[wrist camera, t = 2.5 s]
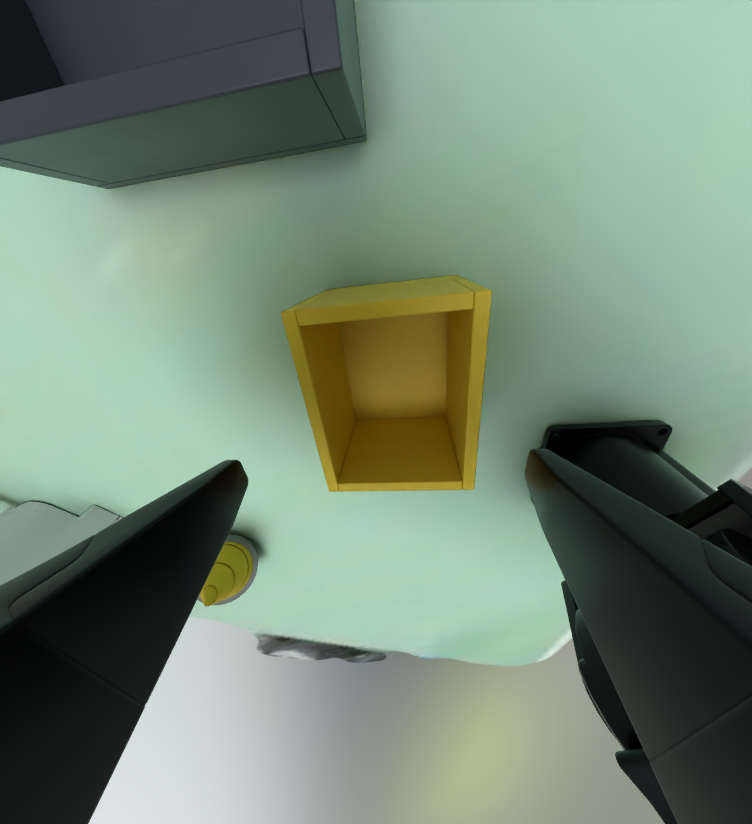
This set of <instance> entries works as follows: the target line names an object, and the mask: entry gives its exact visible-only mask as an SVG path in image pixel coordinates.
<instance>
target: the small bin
mask: <svg viewBox="0 0 752 824" xmlns="http://www.w3.org/2000/svg"><path fill="white" fill-rule="evenodd" d="M491 296H492V291H491V290H490V289H488V288H485V287H483V286H481V285H479V284H476V283H474V282H472V281H470V280H467V279H465V278H463V277H460V276H458V275H451V276H442V277H434V278H425V279H416V280H407V281H399V282H390V283H381V284H372V285H364V286H355V287H346V288H337V289H328V290H325V291H323V292H321V293H319V294H317V295H315V296H313V297H311V298H309V299H307V300H305V301H303V302H301V303H299V304H297V305H295V306H293V307H291V308H289V309H287V310H285V311H283V312H281V316H282V319H283V323H284V327H285V330H286V334H287V338H288V341H289V345H290V349H291V352H292V356H293V360H294V364H295V367H296V371H297V375H298V378H299V382H300V386H301V389H302V393H303V397H304V400H305V404H306V408H307V412H308V415H309V419H310V423H311V426H312V430H313V434H314V437H315V441H316V445H317V448H318V452H319V456H320V460H321V463H322V467H323V471H324V474H325V478H326V482H327V485H328V489H329V491H330V492H332V491H406V490H462V489H463V490H473V489H474V483H475V472H476V461H477V450H478V439H479V428H480V417H481V406H482V395H483V384H484V373H485V362H486V351H487V340H488V329H489V318H490V307H491Z"/></svg>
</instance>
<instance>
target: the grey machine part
mask: <svg viewBox="0 0 752 824" xmlns="http://www.w3.org/2000/svg"><path fill="white" fill-rule="evenodd" d="M121 519H122V517H119V516H118V515H115V514H113V513H111V512H109V511H106V510H104V509H102V508H100V507H98V506H95V505H93V506H92V507H91V508H89V509H88V510H87V511H86V512H85V513H83V514H82V515H81V516H80V517H77V516H75V515H73V514H70V513H68V512H66V511H63V510H61V509H58V508H56V507H54V506H51V505H48V504H45V503H40V502H26V503H23V504H21V505H20V506H18V507H17V508H15V509H12V508H8V509H6V510H5V511H3V512H2V513H0V585H2V584H4V583H6V582H8V581H10V580H12V579H14V578H16V577H17V576H19V575H21V574H23V573H25V572H27V571H29V570H31V569H32V568H34V567H36V566H38V565H40V564H42V563H44V562H46V561H48V560H49V559H51V558H53V557H55V556H57V555H58V554H60V553H62V552H64V551H66V550H67V549H69V548H71V547H73V546H75V545H76V544H78V543H80V542H82V541H84V540H85V539H87V538H89V537H91V536H92V535H96V534H97V533H98V532H100V531H101V530H103V529H105V528H107V527H108V526H110V525H112V524H114V523H115V522H117V521H119V520H121Z"/></svg>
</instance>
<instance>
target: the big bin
mask: <svg viewBox="0 0 752 824" xmlns="http://www.w3.org/2000/svg"><path fill="white" fill-rule="evenodd" d="M366 140H367V134H366V123H365V113H364V102H363V91H362V81H361V70H360V59H359V49H358V38H357V27H356V17H355V6H354V0H0V166H2V167H7V168H11V169H16V170H21V171H26V172H30V173H35V174H40V175H45V176H49V177H54V178H59V179H64V180H68V181H73V182H78V183H82V184H87V185H92V186H97V187H101V188H106V189H108V188H114V187H119V186H124V185H130V184H135V183H141V182H146V181H152V180H157V179H162V178H168V177H173V176H179V175H184V174H189V173H195V172H200V171H206V170H211V169H217V168H222V167H227V166H233V165H238V164H244V163H249V162H254V161H260V160H265V159H271V158H276V157H282V156H287V155H292V154H298V153H303V152H309V151H314V150H319V149H325V148H330V147H336V146H341V145H347V144H352V143H357V142H363V141H366Z"/></svg>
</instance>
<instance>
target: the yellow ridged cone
mask: <svg viewBox="0 0 752 824" xmlns="http://www.w3.org/2000/svg"><path fill="white" fill-rule="evenodd" d="M257 567H258V555H257V551H256V549H255V547H254V546H253V544H252V543H251V542H250V541H249V540H248V539H246V538H244V537H242V536H238V535H228V537H227V539H226V541H225V543H224V545H223V547H222V549H221V551H220V553H219V556H218V558H217V560H216V562H215V564H214V566H213V568H212V570H211V572H210V574H209V576H208V578H207V580H206V582H205V584H204V586H203V588H202V590H201V592H200V595H199V597H198V600H199V601H201V602H203V603H204V605H205V606H210V605H222V604H226V603H229V602H231V601H233V600H235V599H237V598H239V597H240V596H241V595H242V594H244V593H245V592H246V590H247V589H248V588H249V587H250V585H251V584H252V582H253V580H254V578H255V576H256V572H257Z"/></svg>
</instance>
